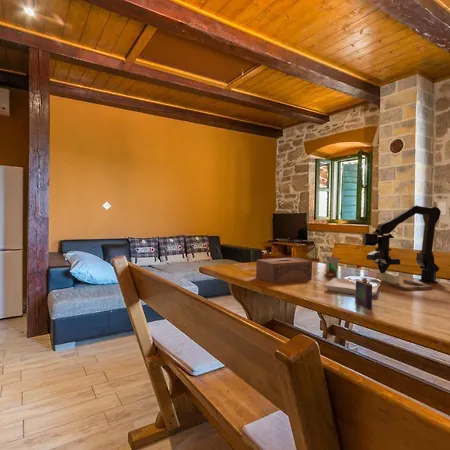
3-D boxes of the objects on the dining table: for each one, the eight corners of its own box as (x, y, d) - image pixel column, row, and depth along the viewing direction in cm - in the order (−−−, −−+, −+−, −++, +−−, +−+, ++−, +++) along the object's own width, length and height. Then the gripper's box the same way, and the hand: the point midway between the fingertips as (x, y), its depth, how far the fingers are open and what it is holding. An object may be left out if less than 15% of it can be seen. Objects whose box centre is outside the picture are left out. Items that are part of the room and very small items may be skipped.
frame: (405, 282, 167) (405, 279, 167) (432, 289, 152) (432, 286, 152) (380, 283, 163) (380, 280, 163) (404, 290, 148) (405, 287, 148)
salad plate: (380, 289, 151) (380, 282, 151) (375, 300, 132) (376, 291, 132) (334, 283, 162) (334, 277, 161) (323, 292, 143) (323, 284, 143)
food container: (340, 277, 175) (340, 259, 175) (328, 277, 177) (329, 259, 176) (337, 273, 187) (337, 256, 187) (326, 273, 189) (326, 256, 188)
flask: (353, 302, 127) (354, 275, 127) (360, 302, 127) (361, 275, 127) (367, 309, 118) (368, 280, 117) (374, 309, 118) (375, 280, 118)
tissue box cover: (293, 274, 183) (294, 257, 183) (311, 279, 170) (312, 261, 170) (256, 278, 171) (256, 259, 171) (272, 283, 158) (272, 263, 158)
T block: (390, 279, 173) (390, 272, 173) (403, 282, 166) (403, 275, 166) (376, 280, 170) (376, 273, 170) (389, 284, 162) (389, 276, 162)
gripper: (359, 244, 179) (357, 272, 179) (383, 248, 161) (382, 279, 161) (375, 244, 182) (374, 271, 182) (401, 248, 164) (400, 278, 164)
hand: (382, 275), depth 173 cm, fingers closed
